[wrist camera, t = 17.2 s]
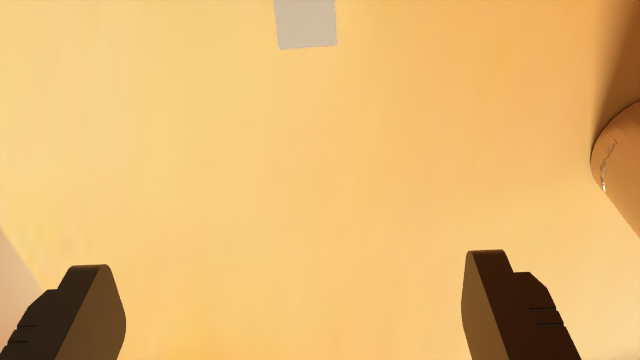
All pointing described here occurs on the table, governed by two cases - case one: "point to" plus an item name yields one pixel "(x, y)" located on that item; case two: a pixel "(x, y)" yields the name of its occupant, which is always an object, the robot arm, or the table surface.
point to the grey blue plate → (305, 23)
